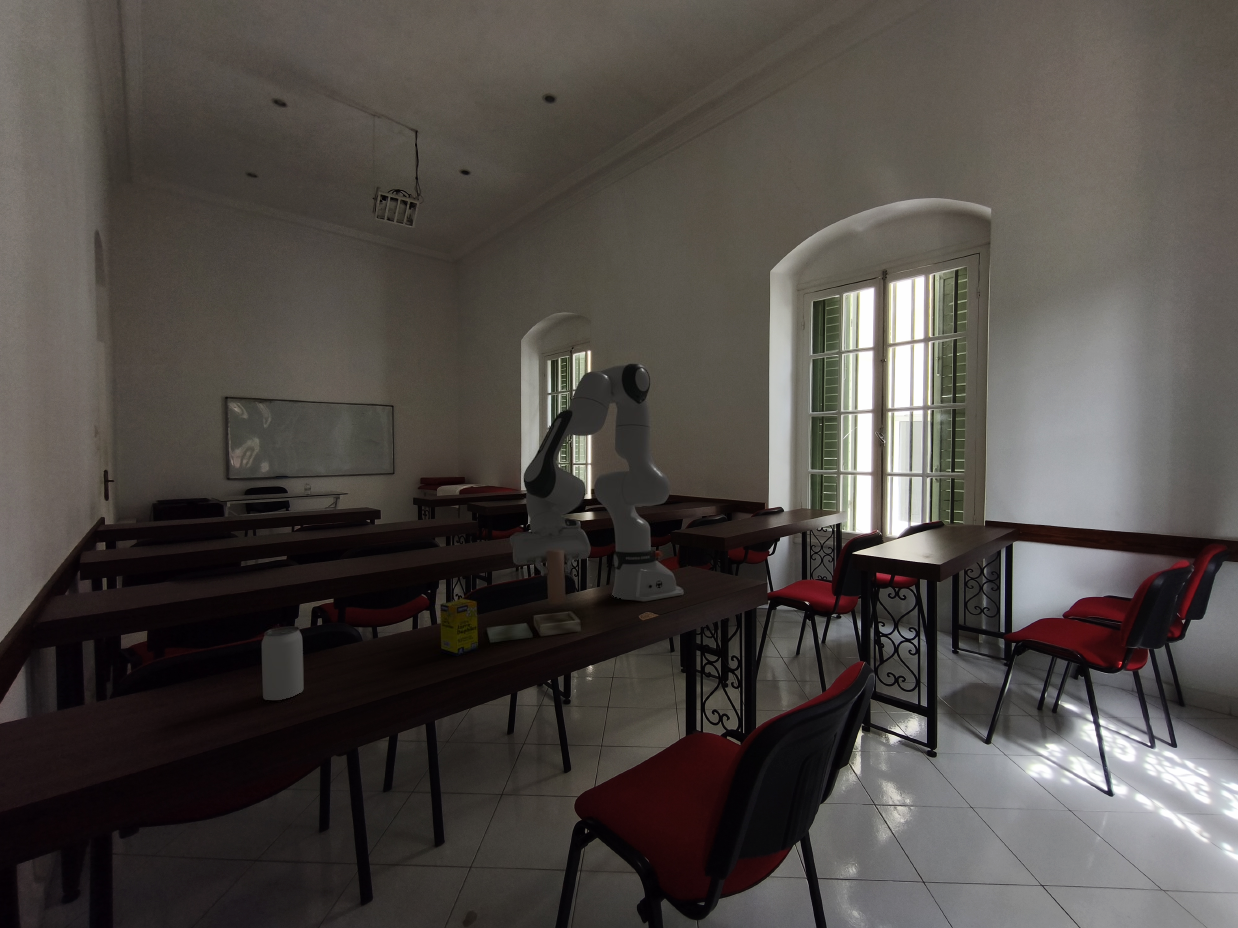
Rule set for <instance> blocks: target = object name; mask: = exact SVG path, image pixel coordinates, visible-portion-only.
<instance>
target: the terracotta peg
mask: <svg viewBox="0 0 1238 928" xmlns="http://www.w3.org/2000/svg"><path fill="white" fill-rule="evenodd" d="M546 557H547V562H546V566H547V568H548V569H547V570H548V575H546V577H547V578H546V579H547V581H546V582H547V600H548V601H547V602H548V604H550V605H560V604H561V605H562V604H564V603H566V602H567V599H566V578H565V577H566V574H565V573H564V565H565V561H564V550H559V549H557V550H548V551H546Z"/></svg>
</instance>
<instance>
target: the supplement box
mask: <svg viewBox="0 0 1238 928" xmlns="http://www.w3.org/2000/svg"><path fill="white" fill-rule="evenodd" d="M477 603H478V601H474V600H469V599H465V598H460V599H456V600H452V601H448V602H442V603H440V606H439V608H440V609H439V611H440V647H441V649H440V650H441V653H445V654H447V655H450V656H451V655H452V656H454V657H460V656H461V655H464V654H467V653H469V652H472V651H476V650H477V651H478V649H479V647H478V645H479V643H478V642H479V641H478V640H479V638H478V604H477Z"/></svg>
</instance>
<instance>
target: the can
mask: <svg viewBox="0 0 1238 928" xmlns="http://www.w3.org/2000/svg"><path fill="white" fill-rule="evenodd" d="M263 634H264V637H263V638H262V640H261V667H262V668H261V670H262V671H261V673H262V674H261V675H262V678H261V679H262V696H263V697H262V698H263V699H264V700H265V701H266V700H282V699H286V698H290V697H293V696H295V695H297V694H299V693H301V694H302V692H303V691H304V654H303V653H304V651H303V650H304V649H303V636H302V633H301V631H300V627H299V626H291V625H290V626H282V627H276V628H272V629H269V630H267V631H265V632H264V633H263ZM299 695H300V694H299Z"/></svg>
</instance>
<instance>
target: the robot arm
mask: <svg viewBox="0 0 1238 928" xmlns="http://www.w3.org/2000/svg"><path fill="white" fill-rule="evenodd" d="M650 386H651V377H650V373H649V372H648V370H647V368H645V366H644V365H642V364H639V363H628V364H622V365H621V364H620V365H614V366H611V367H608V368H605V369H602V370H596V371H594V370H593V371H588V372H586V373H584V374H583V375H582V376H581V378H580V380H579V382H578V383H577V386H576V388H575V390H574V391H573V392H574V393H573V395H572V398H571V402H570V404H569V406H568V407H567V409H564V410H561V411H560V412H558V414H557V415H556V417H555V418H554V419H553V421H552V423H551V425H550V426H549V428H548V430H547V432H546V433H545V436H544V438H543V440H542V442H541V444H540V446H539V448H538V450H537V452H536V454H535V456H534V457H533V458H532V460H531V462H530V463H529V464H528V466H527V467H526V469H525V471H524V473H523V483H524V488H525V490H526V493H525V494H526V495H525V504H526V511H527V515H528V517H529V527H530V531H522V532H521V531H519V532H514V534H512V535H511V536H510V537H509V544H510V546H511V547H512V549H513V550H512V560H513V561H512V562H513V563H514V564H515V565H517V566H522V565H530V564H531V565H532V564H534V565H535V567H536V569H538V570H539V572H540V574H541V576H542V577H544V576H545V577H547V575H548V570H547V569H548V568H547V565H546V566H544V565H543V563H544V564H545V563H547V557H546V551H548V550H557V549H559V550H564V562H565V563H564V573H565V575H566V574H571V565H572V561H573V560H585V559H588V557H590V554H591V550H592V549H591V544H590V541H589V538H588V536H587V534H586V532H585V531H584V530H583V529H582V528H581V526H582V525H581V521H580V520H577V519H573V518H568V517H567V518H566V517H564V516H565V515H567V514H569V513H570V512H572V511H574V510H575V509H577V508H579V506H580V505H582V504H583V502H584V500H585V498H586V490H587V489H586V484H585V481H583V479H581V478H579V476H577V475H575V474H573V473H571V472H569V471H567V470H566V469H563V467H560V466H559V465H558V464H557V459H558V456H559V454H560V452H561V451H562V448H563V446H564V444H565V441H566V440H567V438H568V437H569V436H577V437H578V436H579V437H588V436H592V435H595V434H596V433H599V431H600V430H602V428H603V427H604V424H605V423H606V419H607V416H608V412H609V409H610V405H611V404H615V406H616V417H615V431H614V434H615V436H614V450H615V452H616V454H617V455H618V456H619V457H620V458H621V459H623V460H625V461H626V462H627V464H628V470H627V471H625V470H624V471H611V472H610V471H609V472H606V473H603V474H600V475H599V476H598V477H597V478H596V480H595V481H594V482H595V483H594V487H593V489H594V495H595V498H596V499H597V501H598V502H600V503H601V504H602V505H603V507H604V508H605V509H606V510H607V512H608V513H609V515H610V517H611V520H612V523H613V528H614V540H615V550H614V557H613V559H614V560H613V563H614V568H615V575H614V584H613V589H612V594H611V596H612V595H613V596H614V597H613V596H612V597H613V598H615V597H617V598H616V599H619V598H621V599H620V600H627V601H628V600H630V601H637V602H649V601H655V600H660V599H666V598H671V597H678V596H683V595H684V589H683V588H682V587H680V586H678V585H677V581H676V577H675V575H674V573H673V572H672V570H670V569H668V568H667V567H666V566H664V565H663V564H662V563H660V562H659V561H658V560H657V559H661V558H662V556H663V553H662V551H659V550H654V549H652V548H651V545H652V543H651V542H652V541H651V526H650V524H649V523H648V521H646V520H645V519H644V518H642V517H641V516H640V515H639V514H638V513H637V511H636V506H637V507H653V506H657V505H661V504H664V503H666V501H667V500H668V498H669V496H670V493H671V482H670V480H669V478H668V477H667V475H666V474H665V473H663V472H662V471H661V470H660V469H659V468H658V466H657V464H656V463H655V462H654V459H653V455H652V450H651V416H650V407H649V402H648V399H647V396H648V394H649V392H650V388H651V387H650Z"/></svg>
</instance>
